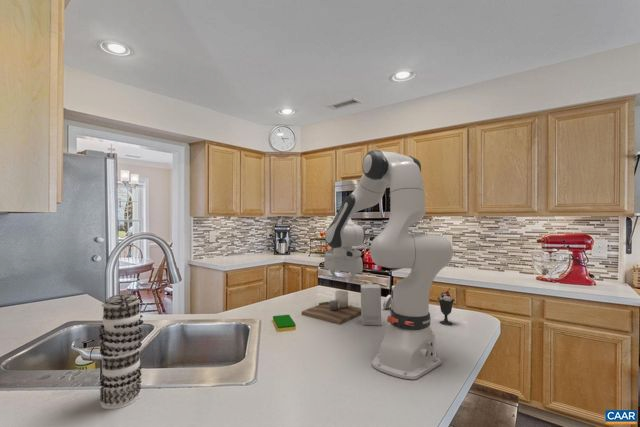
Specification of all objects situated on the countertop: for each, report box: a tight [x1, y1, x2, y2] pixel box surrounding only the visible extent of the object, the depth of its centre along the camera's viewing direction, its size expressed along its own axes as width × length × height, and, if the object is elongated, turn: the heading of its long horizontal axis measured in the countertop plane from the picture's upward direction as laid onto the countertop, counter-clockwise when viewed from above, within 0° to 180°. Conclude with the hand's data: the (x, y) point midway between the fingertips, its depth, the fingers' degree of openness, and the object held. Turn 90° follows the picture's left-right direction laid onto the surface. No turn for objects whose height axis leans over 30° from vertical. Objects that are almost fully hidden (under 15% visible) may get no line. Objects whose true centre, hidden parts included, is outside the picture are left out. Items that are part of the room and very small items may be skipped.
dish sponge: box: [272, 314, 297, 333], centre depth 130 cm, size 7×14×2 cm, turn 17°
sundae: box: [437, 287, 456, 326], centre depth 132 cm, size 7×7×15 cm
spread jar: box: [382, 284, 395, 312], centre depth 149 cm, size 12×11×12 cm
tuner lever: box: [329, 290, 349, 310], centre depth 148 cm, size 11×6×6 cm, turn 143°
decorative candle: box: [98, 293, 144, 410], centre depth 78 cm, size 9×9×25 cm
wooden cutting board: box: [301, 301, 361, 325], centre depth 145 cm, size 21×21×2 cm
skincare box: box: [360, 283, 382, 326], centre depth 132 cm, size 8×7×16 cm
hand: (342, 280), depth 151 cm, fingers open, 8 cm apart
